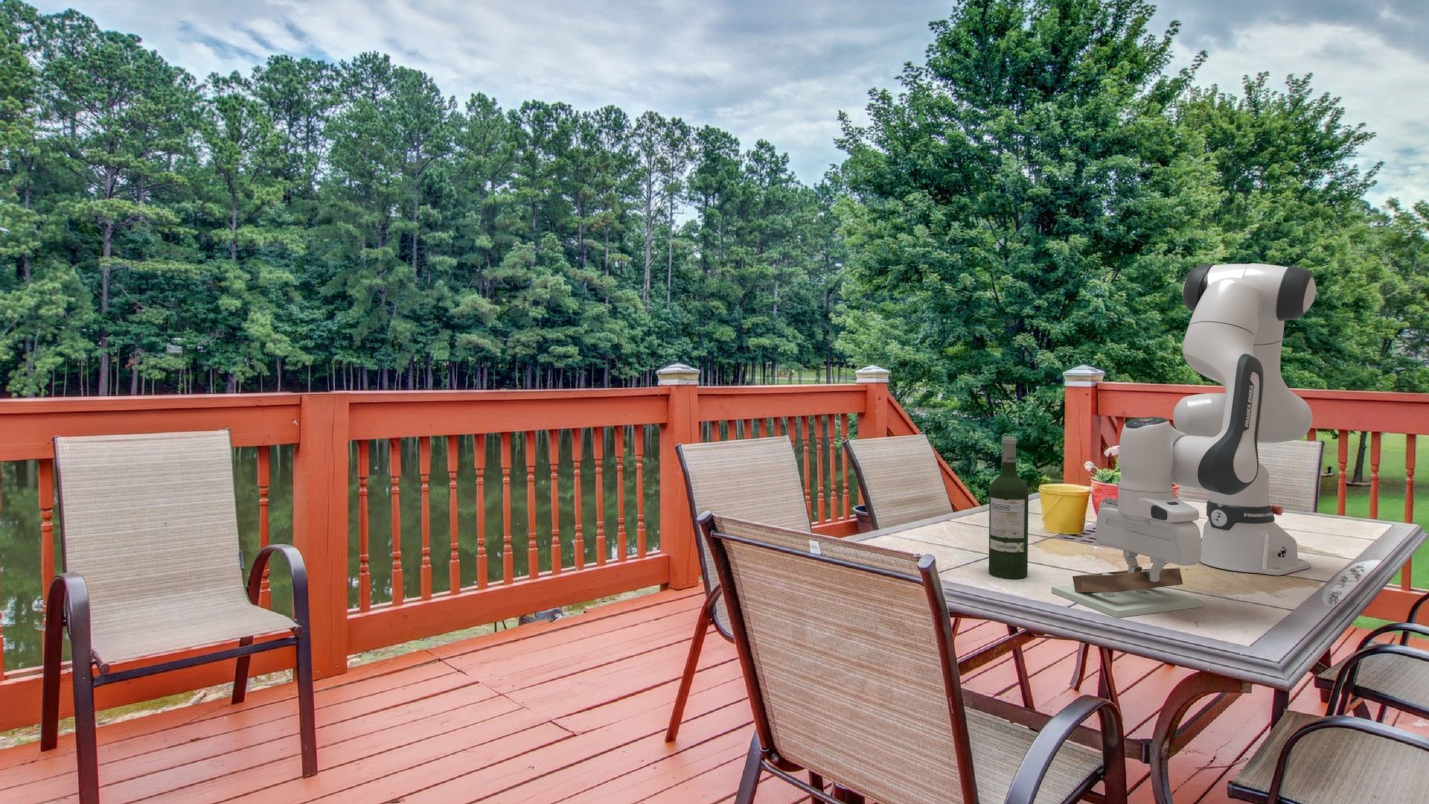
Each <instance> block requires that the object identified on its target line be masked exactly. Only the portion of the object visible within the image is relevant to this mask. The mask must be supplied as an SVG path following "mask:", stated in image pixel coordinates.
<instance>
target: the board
mask: <svg viewBox="0 0 1429 804" xmlns="http://www.w3.org/2000/svg"><path fill="white" fill-rule="evenodd" d="M1142 571H1144V570H1142ZM1102 573H1103V574H1102V575H1113V574H1109V573H1106V572H1102ZM1051 594H1054V595H1057V596H1060V597H1061V598H1064V599H1066V600H1069V601H1072V602H1074V603H1077V604H1080V605H1083V606H1085V607H1087V608H1090V609H1093V610H1096V611H1098V612H1100V613H1101V612H1102V613H1104V614H1106V615H1108V616H1111V617H1114V618H1117V619H1118V618H1119V619H1121V618H1126V617H1135V616H1140V615H1141V616H1142V615H1150V614H1157V612H1158V613H1165V612H1173V611H1180V609H1181V610H1188V609H1195V608H1202V607H1203V600H1202V599H1198V598H1195V597H1192V596H1188V595H1185V594H1184V593H1183V594H1182V593H1180V592H1176V591H1173V590H1170V589H1166V588H1165V587H1158V588H1149V589H1141V590H1132V591H1124V592H1075V588H1074V583H1073V584H1065V585H1055V586H1051Z"/></svg>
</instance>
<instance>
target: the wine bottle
mask: <svg viewBox="0 0 1429 804" xmlns="http://www.w3.org/2000/svg"><path fill="white" fill-rule="evenodd" d="M1016 444H1017V439H1016V436H1003V438H1002V452H1001V453H1002V455H1001V472H1000V474H999V476H997V477H996V478H995V479H994V480H993V481H992V482H991V484H990V486H989V490H988V492H989V496H988V497H989V504H988V505H989V506H988V507H989V511H988V517H989V518H988V572H989V574H990V575H991V574H992V575H991V576H993V575H994V576H993V577H995V578H1000V577H1002V578H1001V579H1006V578H1007V579H1008V580H1021V579H1025V578H1027V576H1028V575H1029V574H1028V571H1029V568H1028V567H1029V565H1028V564H1029V563H1028V560H1029V559H1028V558H1029V555H1028V554H1029V487H1028V484H1027V483H1026V482H1025V481H1024V480H1023V479H1022V478H1021V477H1019V475H1018V471H1017V448H1016V447H1017V445H1016ZM1007 579H1006V580H1007Z"/></svg>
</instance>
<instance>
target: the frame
mask: <svg viewBox="0 0 1429 804" xmlns="http://www.w3.org/2000/svg"><path fill="white" fill-rule="evenodd" d="M1150 569H1151V568H1142V570H1144V571H1142V572H1133V573H1128V569H1126V570H1117V571H1109V572H1105V573H1109V574H1113V575H1102V574H1103V573H1104V572H1100V573H1090V574H1089V573H1088V574H1080V575H1072V580H1073V581H1072V583H1073V584H1074V588H1075V592H1124V591H1132V590H1141V589H1149V588H1158V587H1160V588H1166V587H1174V586H1182V585H1184V582H1183V577H1182V573H1181V568H1180V567H1175V568H1170V567H1169V568H1162V570H1161V571H1160V573H1159V581H1157V582H1152V581H1149V580H1146V578H1145V576H1146V574H1145V571H1146V570H1150Z"/></svg>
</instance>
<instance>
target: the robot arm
mask: <svg viewBox="0 0 1429 804" xmlns="http://www.w3.org/2000/svg"><path fill="white" fill-rule="evenodd" d="M1316 295H1317V286H1316V282H1315V276H1314V274H1313V273H1312V272H1311V271H1310V270H1309V269H1306V268H1303V267H1299V266H1293V265H1289V266H1282V265H1274V264H1267V263H1266V264H1265V263H1254V262H1252V263H1223V264H1216V263H1206V264H1205V263H1204V264H1200V265H1197V266H1195V267H1194V268H1193V269H1191V270H1190V271H1189V273H1188V274H1187V276H1186V278H1185V281H1184V282H1183V285H1182V303H1183V305H1184V306H1185V307H1186V308H1187V309H1188V310H1189V311H1190V312H1192V315H1191V318H1190V321H1189V324H1188V326H1187V329H1186V333H1185V336H1184V339H1183V344H1182V354H1183V358H1184V360H1185V362H1186V363H1187V365H1188V366H1189V367H1190V368H1191V369H1192V370H1194V371H1195V372H1197V374H1200V375H1202V376H1204V377H1206V378H1207V379H1210V380H1213V381H1214V382H1217V383H1219V384H1221V385H1222V386H1223V388H1224V391H1225V392H1224V393H1223V392H1222V393H1221V392H1220V393H1219V392H1218V393H1217V392H1209V393H1208V392H1206V393H1199V394H1193V395H1187V396H1184V397H1182V398H1181V399H1180V400H1179V401H1178V402H1177V403H1176V405H1175V406H1174V409H1173V412H1172V420H1173V425H1174V427H1175V428H1174V427H1173V426H1172V425H1171V422H1170V421H1169V419H1167V418H1164V417H1160V416H1147V417H1138V418H1137V417H1136V418H1132V419H1130V420H1128V421H1126V422H1125V423H1123V426H1122V429H1121V432H1120V438H1119V445H1118V468H1119V470H1120V471H1119V473H1120V478H1119V482H1118V483H1117V484H1118V487H1117V498H1115V499H1114V498H1112V497H1105V498H1104V499H1103V500H1101V501H1100V502H1099V504H1098V508H1099V509H1098V513H1097V516H1096V521H1095V531H1094V532H1095V533H1094V537H1095V540H1096V542H1097V544H1099V545H1103V546H1106V547H1111V548H1114V549H1118V550H1123V552H1122V556H1123V559H1124V560H1125V562H1126V564H1127V566H1128V567H1127V568H1128V569H1127V570H1128V573H1133V572H1142V569H1143V566H1141V565H1139V562H1138V560H1137V557H1138V555H1140V556H1144V557H1148V558H1150V564H1152V565H1151V567H1150V568H1149V569H1150V570H1146V571H1145V574H1146V576H1145V578H1146V580H1149V581H1152V582H1157V581H1159V573H1160V571H1161V570H1162V569H1164V567H1165V566H1166V562H1167V563H1171V564H1175V565H1179V566H1182V567H1185V566H1194V565H1197V564H1198V563H1199V562H1200V563H1202V564H1204V565H1207V566H1210V567H1214V568H1218V569H1222V570H1228V571H1234V572H1241V573H1242V572H1243V573H1251V574H1252V573H1255V574H1265V575H1272V576H1282V575H1283V576H1284V575H1286V574H1290V573H1294V572H1298V571H1302V570H1305V569H1309V568H1312V563H1311V562H1309V561H1308V560H1306V559H1305V560H1304V559H1301V558H1299V557H1298V555H1299V554H1298V544H1297V541H1296V538H1294V537H1293V536H1291V535H1290V534H1289V533H1288V532H1287V531H1285V530H1284V529H1283V528H1282V527H1281V526H1279V525H1278V524H1277V523H1276V522H1275V521H1276V519H1275V515H1277V516H1282V515H1283V513H1284V508H1283V506H1279V505H1278V506H1277V505H1274V504H1273V505H1271V504H1270V503H1269V502H1270V473H1269V471H1268V469H1267V467H1266V466H1265V465H1263V464H1262V463H1260V461H1259V451H1258V450H1259V449H1258V443H1269V444H1276V443H1283V442H1291V441H1292V442H1293V441H1298V440H1301V439H1303V438H1304V437H1305V436H1306V435H1307V434H1308V433H1309V432H1310V430H1311V428H1312V425H1313V422H1314V420H1313V419H1314V416H1313V412H1312V409H1311V407H1310V405H1309V404H1308V403H1307V402H1306V401H1305V400H1304V399H1303V398H1302V397H1300V396H1299V395H1297V394H1296V393H1294V392H1293V391H1292V390H1291V389H1290V388H1289V387H1288V386H1287V384H1286V382H1285V381H1284V379H1283V377H1282V372H1281V356H1282V346H1283V339H1284V331H1285V329H1284V328H1285V321H1291V320H1296V319H1299V318H1300V317H1302V316H1304V315H1305V314H1306V313H1307V312H1308V310H1309V309H1310V308H1311V306H1312V305H1313V303H1314V301H1315V298H1316ZM1172 484H1173V485H1177V486H1178V485H1179V486H1183V487H1189V488H1195V489H1203V490H1207V491H1208V492H1209V493H1208V494H1209V495H1208V500H1207V501H1206V506H1205V510H1206V517H1207V521H1205V522H1204V524H1203V528H1202V529H1203V530H1202V537H1201V530H1200V528H1199V526H1198V524H1197V523H1196V522H1195V521H1199V519H1200V511H1199V509H1198V508H1195V507H1193V505H1190V504H1188V503H1186V502H1184V501H1182V500H1181V499H1179V498H1178V497H1176V496H1175V495H1173V493H1174V490H1173V489H1174V487H1173V485H1172Z"/></svg>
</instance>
